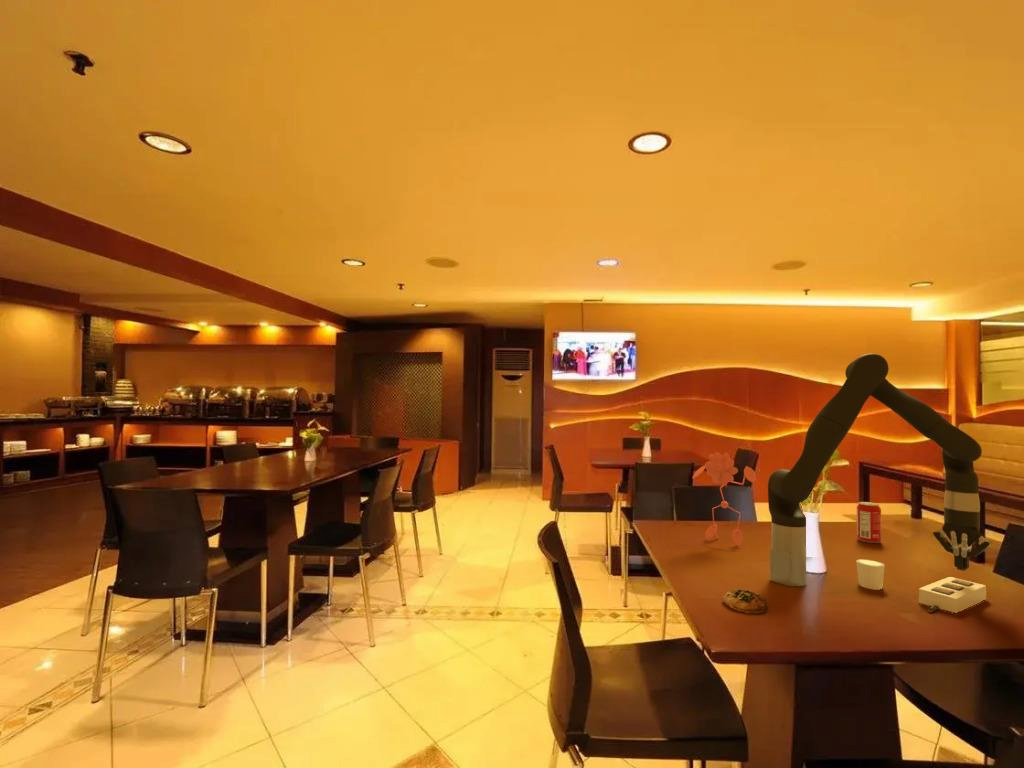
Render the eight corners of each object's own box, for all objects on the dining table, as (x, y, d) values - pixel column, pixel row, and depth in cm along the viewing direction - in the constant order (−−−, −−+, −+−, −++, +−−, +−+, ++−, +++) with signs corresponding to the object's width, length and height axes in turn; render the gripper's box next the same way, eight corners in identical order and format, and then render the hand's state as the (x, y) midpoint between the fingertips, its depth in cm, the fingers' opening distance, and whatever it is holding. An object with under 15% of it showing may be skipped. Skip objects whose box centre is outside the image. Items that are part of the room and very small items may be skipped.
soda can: (859, 542, 196) (859, 504, 197) (854, 538, 203) (854, 500, 204) (884, 545, 193) (883, 506, 194) (878, 540, 200) (877, 502, 201)
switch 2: (968, 593, 139) (968, 585, 139) (951, 589, 142) (951, 581, 142) (973, 591, 140) (973, 582, 141) (956, 587, 144) (956, 578, 144)
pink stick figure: (699, 533, 206) (698, 448, 206) (763, 548, 186) (762, 453, 187) (678, 540, 196) (677, 450, 197) (744, 557, 176) (743, 457, 177)
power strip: (948, 618, 127) (948, 602, 127) (911, 606, 134) (911, 591, 134) (986, 600, 139) (985, 585, 140) (949, 590, 146) (949, 576, 146)
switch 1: (948, 602, 132) (948, 593, 132) (931, 598, 135) (931, 589, 135) (954, 600, 134) (953, 591, 134) (937, 595, 137) (937, 586, 137)
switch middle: (958, 598, 135) (958, 589, 135) (941, 593, 138) (941, 584, 139) (963, 595, 137) (963, 586, 137) (947, 591, 140) (947, 582, 140)
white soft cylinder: (878, 583, 151) (878, 560, 151) (889, 591, 145) (889, 567, 145) (852, 581, 153) (852, 557, 153) (861, 588, 146) (861, 564, 147)
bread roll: (778, 609, 131) (775, 590, 131) (751, 623, 125) (748, 603, 125) (740, 596, 140) (738, 578, 140) (713, 609, 135) (711, 590, 135)
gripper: (927, 504, 146) (927, 564, 145) (987, 513, 134) (987, 579, 134) (938, 502, 149) (938, 561, 149) (998, 511, 138) (998, 575, 137)
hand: (961, 569), depth 141 cm, fingers closed
